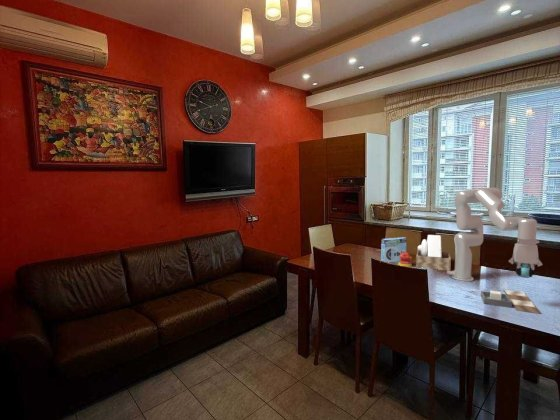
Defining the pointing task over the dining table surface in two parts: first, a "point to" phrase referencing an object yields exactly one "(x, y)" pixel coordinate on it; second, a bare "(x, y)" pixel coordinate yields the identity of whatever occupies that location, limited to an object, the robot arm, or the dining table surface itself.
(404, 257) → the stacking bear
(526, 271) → the pawn
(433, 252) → the butter dish
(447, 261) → the dish corral
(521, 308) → the board
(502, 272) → the dining table surface
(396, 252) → the gum box
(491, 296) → the die
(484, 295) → the tray
